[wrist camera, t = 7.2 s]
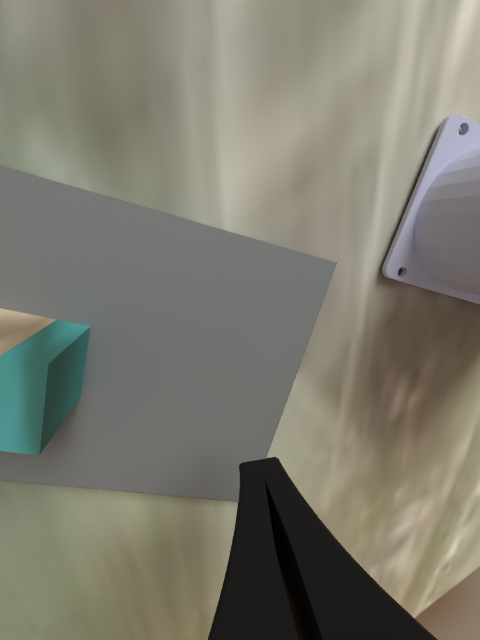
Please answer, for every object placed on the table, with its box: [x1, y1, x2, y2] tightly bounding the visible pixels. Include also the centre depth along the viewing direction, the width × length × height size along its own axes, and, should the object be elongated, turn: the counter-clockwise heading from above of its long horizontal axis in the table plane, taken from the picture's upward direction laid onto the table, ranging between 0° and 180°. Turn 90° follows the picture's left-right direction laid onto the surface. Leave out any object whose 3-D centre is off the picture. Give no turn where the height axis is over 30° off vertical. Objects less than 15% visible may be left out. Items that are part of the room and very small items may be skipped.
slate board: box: [0, 166, 337, 502], centre depth 15 cm, size 22×16×1 cm
